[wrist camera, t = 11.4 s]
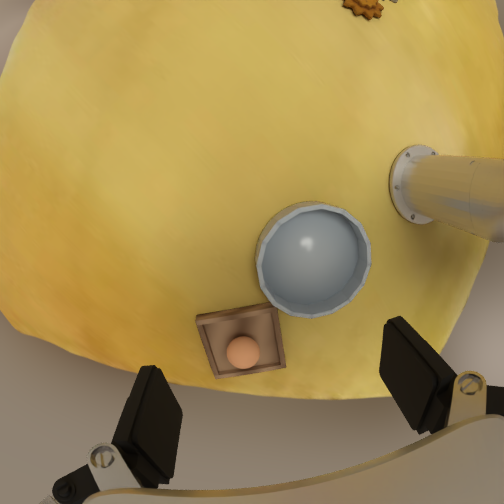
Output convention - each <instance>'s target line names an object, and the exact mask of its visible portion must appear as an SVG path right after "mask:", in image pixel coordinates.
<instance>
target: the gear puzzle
mask: <svg viewBox="0 0 504 504" xmlns="http://www.w3.org/2000/svg"><path fill="white" fill-rule="evenodd" d="M383 1H384V0H383ZM390 1H392V2H394V3H397V1H398V0H390ZM343 5H344V6H346V7H350V8H352V9H353V12H354V13H355V15H360V14H363V15H364V16H365V17H367V18H368V19H370V20H371V19H372V17H373V16H376V17H379V18H380V17H381V16H382V15H381V12H380V11H382V10H383V9H384V7H383V6H382V5H381V4H380V3H378V0H345V1H344V3H343Z"/></svg>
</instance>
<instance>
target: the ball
mask: <svg viewBox="0 0 504 504" xmlns="http://www.w3.org/2000/svg"><path fill="white" fill-rule="evenodd" d="M259 357H260V348H259V346H258V344H257V343H256V342H255V341H254V340H253V339H252V338H249V337H245V336H242V337H237V338H235V339H233V340H232V341H231V342H230V343H229V345H228V347H227V358H228V360H229V362H230V363H231V364H232V365H233V366H235V367H237V368H240V369H247V368H250V367H252V366H254V365H255V364H256V363H257V361H258V360H259Z"/></svg>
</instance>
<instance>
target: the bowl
mask: <svg viewBox="0 0 504 504" xmlns="http://www.w3.org/2000/svg"><path fill="white" fill-rule="evenodd" d="M255 262H256V268H257V273H258V278H259V284H260V288H261V289H262V291H263V292H264V294H265V295H266V296H267V298H268V299H269V301H270V302H271V303H272V305H273V306H275V307H277V308H278V309H280V310H282V311H284V312H285V313H287V314H289V315H290V316H296V317H304V318H311V319H312V318H316V317H320V316H324V315H329V314H333V313H334V312H336V311H337V310H339V309H340V308H342V307H344V306H345V305H347V304H348V303H350V302H351V301H352V300H353V298H354V297H355V296H356V295H357V293H358V292H359V291H360V290H361V288H362V287H363V286H364V284H365V281H366V278H367V275H368V272H369V270H370V267H371V243H370V241H369V239H368V237H367V234H366V232H365V230H364V228H363V226H362V224H361V223H360V222H359V221H358V220H356V219H355V218H354V217H353V216H352V215H350V214H349V213H348V212H347V211H346V210H344V209H342V208H339V207H337V206H333V205H330V204H326V203H323V202H318V201H306V202H300V203H296V204H293V205H291V206H288V207H286V208H285V209H283V210H281V211H280V212H278V213H277V214H276V215H275V216H274V217H273V218H272V219H271V220H270V221H269V222H268V223H267V224H266V226H265V227H264V229H263V231H262V232H261V235H260V237H259V239H258V243H257V247H256V255H255Z"/></svg>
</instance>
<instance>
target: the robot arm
mask: <svg viewBox="0 0 504 504" xmlns="http://www.w3.org/2000/svg"><path fill="white" fill-rule="evenodd" d="M390 193H391V198H392V200H393V203H394V206H395V207H396V209H397V211H398V212H399V213H400V214H401V216H402V217H404V218H405V219H406V220H408V221H410V222H412V223H416V224H427V223H430V222H432V221H434V220H437V221H439V222H442V223H445V224H448V225H450V226H453V227H456V228H458V229H461V230H464V231H466V232H469V233H471V234H474V235H476V236H479V237H481V238H484V239H486V240H489V241H492V242H498V243H501V242H504V159H495V158H484V157H470V156H451V155H439V154H438V153H437V152H436V151H435V150H433V149H432V148H430V147H428V146H425V145H413V146H409V147H407V148H406V149H404V150H403V151H402V152H401V153H400V154H399V155H398V156H397V158H396V159H395V161H394V163H393V166H392V169H391V173H390ZM379 373H380V377H381V378H382V380H383V382H384V383H385V385H386V386H387V388H388V390H389V391H390V393H391V395H392V396H393V398H394V400H395V401H396V403H397V405H398V406H399V408H400V410H401V411H402V413H403V415H404V416H405V418H406V420H407V421H408V423H409V425H410V427H411V428H412V429H413V430H417V432H418V434H422V433H424V432H426V431H428V430H429V431H430V433H431V435H429V436H428V437H425V438H423V439H421V440H419V441H417V442H415V443H413V444H410V445H408V446H406V447H403V448H401V449H399V450H396V451H394V452H392V453H389V454H387V455H384V456H382V457H379V458H376V459H373V460H371V461H368V462H365V463H362V464H359V465H356V466H353V467H350V468H346V469H343V470H339V471H336V472H333V473H329V474H325V475H321V476H317V477H312V478H308V479H303V480H299V481H293V482H288V483H281V484H276V485H269V486H260V487H251V488H241V489H226V490H169V489H157V488H158V484H169V480H170V478H173V475H174V469H175V462H176V455H177V448H178V442H179V435H180V429H181V423H182V416H183V414H182V409H181V407H180V405H179V404H178V402H177V400H176V398H175V396H174V394H173V393H172V391H171V389H170V387H169V385H168V383H167V381H166V379H165V377H164V375H163V373H162V371H161V369H160V368H157V367H156V366H155V365H150V366H142V367H141V368H140V370H139V373H138V375H137V378H136V380H135V383H134V386H133V388H132V391H131V393H130V396H129V397H128V399H127V401H126V404H125V406H124V409H123V412H122V414H121V417H120V420H119V423H118V425H117V428H116V431H115V434H114V436H113V439H112V442H111V444H109V443H101V444H97V445H96V446H94V447H93V448H92V449H91V450H90V451H89V453H88V455H87V462H88V464H86V465H85V466H83V467H81V468H79V469H77V470H76V471H74V472H72V473H70V474H68V475H66V476H64V477H62V478H60V479H58V480H57V481H56V482H55V484H54V486H53V490H52V493H53V496H52V497H51V496H50V495H48V496H47V497H46V498H45V499H44V500H43V501H41V502H40V503H39V504H504V387H498V386H489V385H486V380H485V379H484V377H483V376H482V375H480V374H479V373H477V372H474V371H465V372H463V373H461V374H459V375H457V374H456V373H455V372H454V371H453V370H452V369H451V367H450V366H449V365H448V364H447V363H446V362H445V361H444V360H443V359H442V358H441V356H440V355H439V354H438V353H437V352H436V351H435V350H434V349H433V348H432V347H431V346H430V345H429V344H428V343H427V341H425V340H424V339H423V338H422V337H421V336H420V335H419V334H418V333H417V332H416V331H415V330H414V329H413V328H412V327H411V326H410V324H409V323H408V322H407V321H406V320H405V319H404V318H403V317H401V316H397V317H394V318H391V319H389V320H388V321H387V324H385V325H384V329H383V341H382V351H381V359H380V367H379Z"/></svg>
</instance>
